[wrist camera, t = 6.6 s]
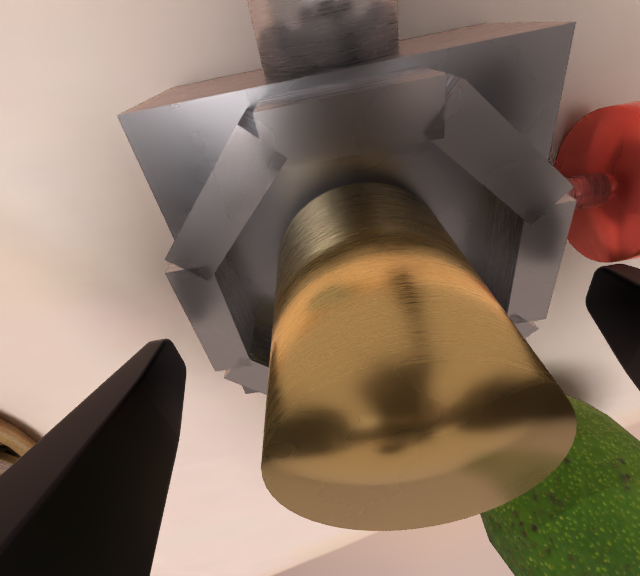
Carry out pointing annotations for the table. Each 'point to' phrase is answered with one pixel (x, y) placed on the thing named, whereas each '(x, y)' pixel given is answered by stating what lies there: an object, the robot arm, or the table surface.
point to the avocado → (577, 508)
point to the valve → (381, 159)
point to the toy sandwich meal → (12, 444)
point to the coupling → (398, 374)
